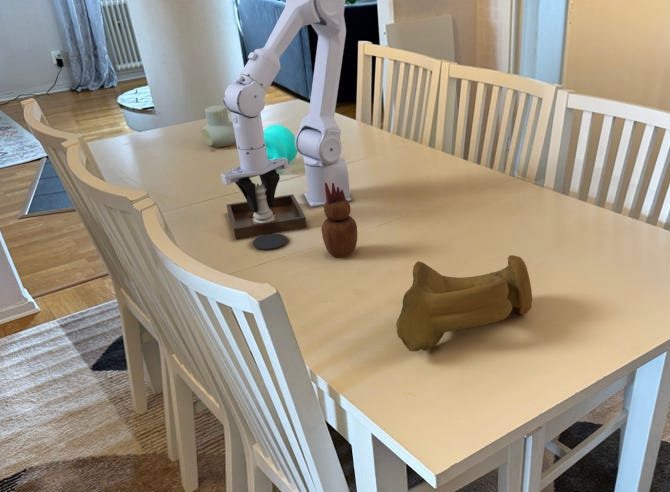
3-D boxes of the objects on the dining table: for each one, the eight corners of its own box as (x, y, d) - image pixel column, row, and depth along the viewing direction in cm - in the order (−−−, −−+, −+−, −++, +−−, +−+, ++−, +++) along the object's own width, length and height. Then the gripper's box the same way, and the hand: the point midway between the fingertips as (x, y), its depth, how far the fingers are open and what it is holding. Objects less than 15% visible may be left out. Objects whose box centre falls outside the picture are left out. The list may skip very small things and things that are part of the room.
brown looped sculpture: (386, 259, 116) (513, 231, 115) (402, 331, 120) (526, 304, 119) (384, 280, 98) (535, 247, 97) (404, 364, 102) (549, 333, 101)
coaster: (284, 233, 143) (284, 231, 143) (290, 246, 138) (290, 245, 138) (250, 238, 142) (250, 236, 141) (255, 252, 136) (255, 250, 136)
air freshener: (201, 143, 195) (193, 107, 189) (227, 136, 199) (221, 101, 193) (216, 152, 187) (209, 115, 182) (244, 145, 191) (238, 109, 186)
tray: (294, 204, 156) (293, 194, 155) (307, 227, 145) (305, 217, 144) (228, 214, 152) (226, 204, 151) (235, 239, 141) (233, 229, 140)
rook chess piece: (265, 215, 151) (259, 180, 147) (278, 219, 149) (273, 184, 144) (249, 221, 149) (243, 186, 144) (263, 226, 146) (256, 191, 142)
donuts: (301, 162, 178) (296, 124, 173) (286, 176, 171) (281, 136, 165) (266, 160, 181) (260, 122, 175) (250, 174, 173) (243, 134, 167)
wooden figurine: (327, 262, 132) (318, 188, 123) (322, 249, 136) (313, 177, 128) (361, 257, 133) (355, 183, 124) (355, 244, 138) (349, 172, 129)
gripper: (272, 133, 145) (282, 194, 153) (209, 149, 138) (222, 212, 146) (289, 140, 141) (298, 203, 149) (225, 157, 134) (238, 222, 142)
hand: (262, 208), depth 147 cm, fingers open, 3 cm apart
